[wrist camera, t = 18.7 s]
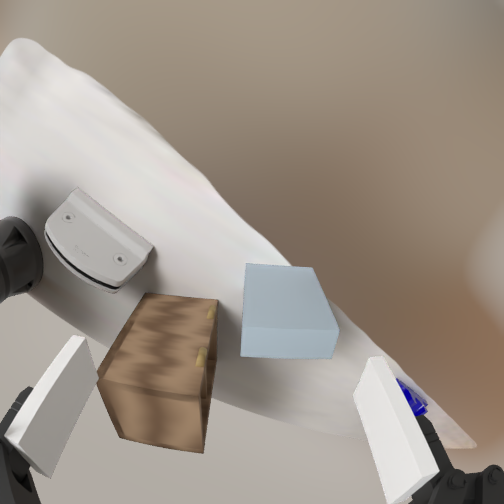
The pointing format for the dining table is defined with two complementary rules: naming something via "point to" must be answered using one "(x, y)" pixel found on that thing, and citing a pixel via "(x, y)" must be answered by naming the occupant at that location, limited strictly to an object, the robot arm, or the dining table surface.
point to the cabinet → (163, 372)
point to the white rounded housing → (95, 243)
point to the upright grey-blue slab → (286, 314)
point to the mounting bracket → (413, 400)
